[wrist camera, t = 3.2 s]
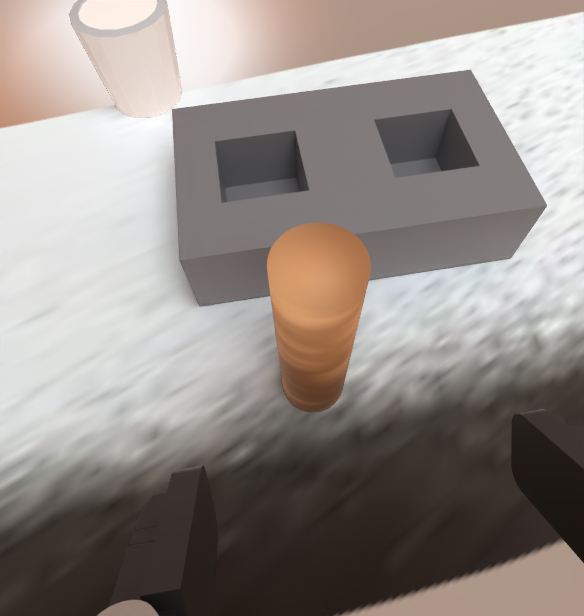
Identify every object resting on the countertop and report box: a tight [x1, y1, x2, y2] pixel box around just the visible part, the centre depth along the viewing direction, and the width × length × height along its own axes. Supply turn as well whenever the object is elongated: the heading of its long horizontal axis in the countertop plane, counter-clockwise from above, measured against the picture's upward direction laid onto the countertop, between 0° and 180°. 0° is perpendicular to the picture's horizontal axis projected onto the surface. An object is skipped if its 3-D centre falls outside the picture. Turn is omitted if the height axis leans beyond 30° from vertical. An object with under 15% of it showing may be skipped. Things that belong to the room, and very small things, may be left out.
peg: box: [267, 223, 371, 412], centre depth 20 cm, size 3×3×12 cm
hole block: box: [172, 70, 547, 306], centre depth 29 cm, size 20×12×5 cm, turn 99°
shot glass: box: [69, 0, 182, 118], centre depth 35 cm, size 7×7×7 cm
